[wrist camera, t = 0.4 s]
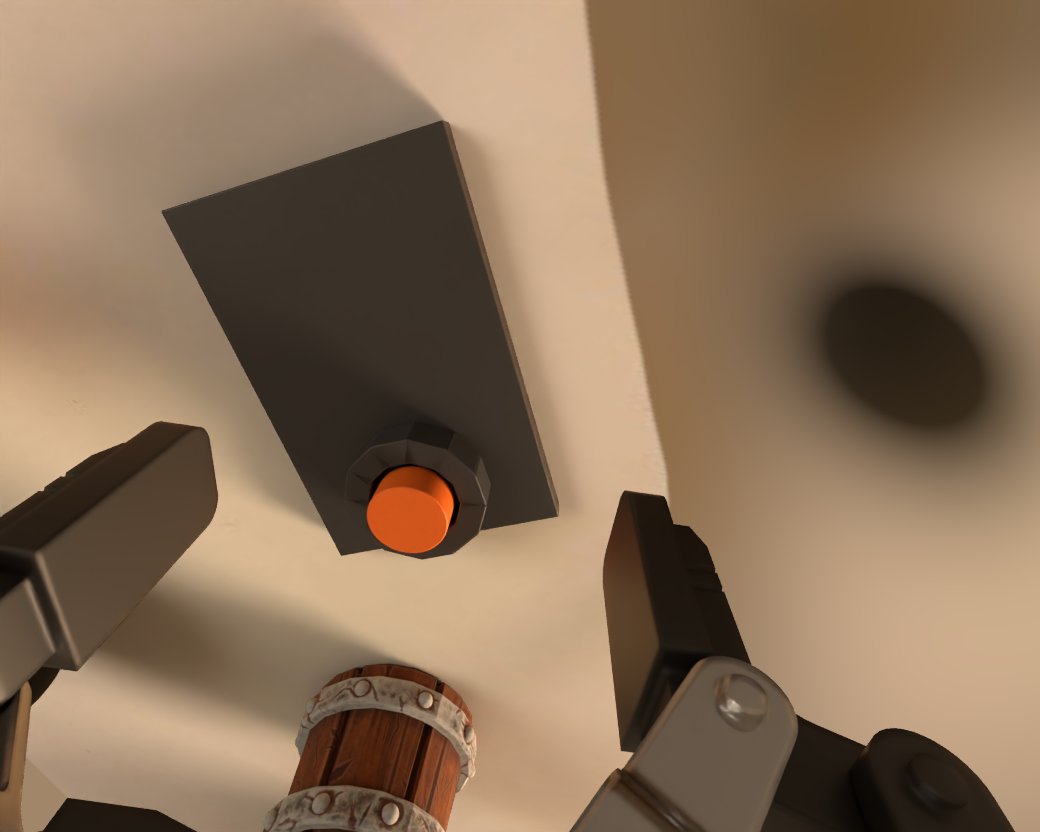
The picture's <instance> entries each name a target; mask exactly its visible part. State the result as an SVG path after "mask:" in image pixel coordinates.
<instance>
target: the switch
mask: <svg viewBox="0 0 1040 832" xmlns="http://www.w3.org/2000/svg"><path fill="white" fill-rule="evenodd" d="M453 508H454V496H453V493H452V491H451V488H450V487H449V485H448V484H447V482H446V481H445V480H444V479H443V478H442V477H441V476H439V475H438V474H437V473H435V472H433V471H431V470H429V469H426V468H423V467H417V466H406V467H401V468H397V469H395V470H393V471H391V472H389V473H388V474H387V475H386V476H385V477H384V478H383V479H382V481H381V482H380V484H379V486H378V488H377V490H376V492H375V494H374V496H373V497H372V499H371V501H370V503H369V505H368V509H367V521H368V525H369V527H370V529H371V531H372V533H373V534H374V535H375V537H376V538H377V539H378V540H379V541H381V542H382V543H383V544H385V545H386V546H388V547H390V548H392V549H394V550H397V551H401V552H406V553H419V552H424V551H427V550H430V549H432V548H434V547H435V546H437V545H438V544H439V543H440V542H441V541H442V540H443V538H444V537H445V535H446V532H447V529H448V526H449V522H450V519H451V515H452V512H453Z"/></svg>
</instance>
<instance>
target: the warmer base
mask: <svg viewBox="0 0 1040 832" xmlns="http://www.w3.org/2000/svg"><path fill="white" fill-rule="evenodd" d="M162 214H163V216H164V218H165V220H166V222H167V224H168V226H169V227H170V229H171V231H172V233H173V235H174V237H175V239H176V241H177V243H178V245H179V247H180V248H181V250H182V252H183V254H184V256H185V258H186V260H187V262H188V264H189V266H190V268H191V269H192V271H193V273H194V275H195V277H196V279H197V281H198V283H199V285H200V287H201V289H202V291H203V292H204V294H205V296H206V298H207V300H208V302H209V304H210V306H211V308H212V310H213V312H214V313H215V315H216V317H217V319H218V321H219V323H220V325H221V327H222V329H223V331H224V333H225V335H226V336H227V338H228V340H229V342H230V344H231V346H232V348H233V350H234V352H235V354H236V356H237V357H238V359H239V361H240V363H241V365H242V367H243V369H244V371H245V373H246V375H247V377H248V379H249V380H250V382H251V384H252V386H253V388H254V390H255V392H256V394H257V396H258V398H259V400H260V401H261V403H262V405H263V407H264V409H265V411H266V413H267V415H268V417H269V419H270V421H271V422H272V424H273V426H274V428H275V430H276V432H277V434H278V436H279V438H280V440H281V442H282V444H283V445H284V447H285V449H286V451H287V453H288V455H289V457H290V459H291V461H292V463H293V465H294V466H295V468H296V470H297V472H298V474H299V476H300V478H301V480H302V482H303V484H304V486H305V488H306V489H307V491H308V493H309V495H310V497H311V499H312V501H313V503H314V505H315V507H316V509H317V510H318V512H319V514H320V516H321V518H322V520H323V522H324V524H325V526H326V528H327V530H328V531H329V533H330V535H331V537H332V539H333V541H334V543H335V545H336V547H337V549H338V551H339V553H340V554H341V556H343V555H348V554H354V553H359V552H365V551H370V550H376V549H381V548H383V549H384V550H385V551H386V550H387V551H389V552H393V553H397V554H401V555H405V556H410V557H414V558H418V559H427V558H433V557H439V556H444V555H450V554H454V553H455V552H456V551H458V550H459V549H460V548H461V547H463V546H464V545H465V544H466V543H468V542H469V541H470V540H471V539H473V538H474V537H475V536H476V535H478V534H479V531H480V530H486V529H492V528H497V527H503V526H508V525H514V524H519V523H525V522H530V521H536V520H541V519H547V518H552V517H558V515H559V502H558V499H557V495H556V492H555V489H554V485H553V482H552V478H551V475H550V471H549V468H548V464H547V461H546V457H545V454H544V450H543V447H542V444H541V440H540V437H539V433H538V430H537V426H536V423H535V419H534V416H533V412H532V409H531V406H530V402H529V399H528V395H527V392H526V388H525V385H524V381H523V378H522V374H521V371H520V367H519V364H518V361H517V357H516V354H515V350H514V347H513V343H512V340H511V336H510V333H509V329H508V326H507V323H506V319H505V316H504V312H503V309H502V305H501V302H500V298H499V295H498V291H497V288H496V284H495V281H494V278H493V274H492V271H491V267H490V264H489V260H488V257H487V253H486V250H485V246H484V243H483V240H482V236H481V233H480V229H479V226H478V222H477V219H476V215H475V212H474V208H473V205H472V201H471V198H470V195H469V191H468V188H467V184H466V181H465V177H464V174H463V170H462V167H461V163H460V160H459V157H458V153H457V150H456V146H455V143H454V139H453V136H452V132H451V129H450V125H449V123H448V122H446V121H438V122H435V123H432V124H429V125H426V126H423V127H420V128H417V129H413V130H410V131H407V132H404V133H401V134H398V135H395V136H392V137H389V138H386V139H382V140H379V141H376V142H373V143H370V144H367V145H364V146H361V147H358V148H355V149H352V150H348V151H345V152H342V153H339V154H336V155H333V156H330V157H327V158H324V159H321V160H317V161H314V162H311V163H308V164H305V165H302V166H299V167H296V168H293V169H290V170H287V171H283V172H280V173H277V174H274V175H271V176H268V177H265V178H262V179H259V180H256V181H253V182H249V183H246V184H243V185H240V186H237V187H234V188H231V189H228V190H225V191H222V192H218V193H215V194H212V195H209V196H206V197H203V198H200V199H197V200H194V201H191V202H188V203H184V204H181V205H178V206H175V207H172V208H169V209H166V210H163V211H162ZM406 466H417V467H423V468H426V469H429V470H431V471H433V472H435V473H437V474H438V475H439V476H441V477H442V478H443V479H444V480H445V481H446V482H447V484H448V485H449V487H450V488H451V491H452V493H453V496H454V508H453V512H452V515H451V519H450V522H449V526H448V529H447V532H446V535H445V537H444V538H443V540H442V541H441V542H440V543H439V544H438V545H437V546H435V547H434V548H432V549H430V550H427V551H424V552H419V553H406V552H401V551H397V550H394V549H392V548H390V547H388V546H386V545H385V544H383V543H382V542H381V541H379V540H378V539H377V538H376V537H375V535H374V534H373V533H372V531H371V529H370V527H369V525H368V521H367V509H368V505H369V503H370V501H371V499H372V497H373V496H374V494H375V492H376V490H377V488H378V486H379V484H380V482H381V481H382V479H383V478H384V477H385V476H386V475H387V474H388V473H389V472H391V471H393V470H395V469H397V468H401V467H406Z"/></svg>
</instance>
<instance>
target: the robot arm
mask: <svg viewBox="0 0 1040 832" xmlns="http://www.w3.org/2000/svg"><path fill="white" fill-rule="evenodd" d="M217 502H218V492H217V485H216V478H215V472H214V465H213V459H212V452H211V445H210V439H209V436H208V433H207V432H206V430H205V429H204V428H202V427H196V426H190V425H183V424H176V423H169V422H162V421H160V422H156V423H154V424H152V425H150V426H149V427H147V428H146V429H145V430H143V431H142V432H140V433H139V434H138V435H136V436H135V437H133V438H132V439H130V440H129V441H128V442H126V443H122V444H119V445H117V446H114V447H112V448H109V449H107V450H104V451H102V452H99V453H97V454H94V455H92V456H90V457H89V458H87V459H86V460H84V461H83V462H81V463H80V464H78V465H77V466H75V467H74V468H72V469H71V470H69V471H68V472H66V476H65V477H62V476H61V477H59V478H58V479H56V480H55V481H53V482H52V483H50V484H49V485H47V486H46V487H45V489H44V491H43V492H42V491H38V492H37V493H35V494H34V495H33V496H31V497H30V498H28V499H27V500H25V501H24V502H22V503H21V504H19V505H18V506H16V507H15V508H13V509H12V510H10V511H9V512H8V513H6V514H5V515H3V516H2V517H0V832H23V828H22V827H23V826H22V819H21V798H22V788H23V787H22V786H23V778H24V767H25V759H26V749H27V739H28V730H29V720H30V710H31V700H32V690H31V688H30V685H29V683H28V680H29V679H30V678H31V677H32V676H33V675H34V674H35V673H36V672H37V671H38V670H39V669H40V668H41V667H50V668H57V669H64V670H71V671H78V670H79V669H80V668H81V667H82V665H83V664H84V663H85V662H86V661H87V660H88V659H89V658H90V657H91V655H92V654H93V653H94V652H95V651H96V650H97V649H98V648H99V647H100V645H101V644H102V643H103V642H104V641H105V640H106V639H107V638H108V637H109V635H110V634H111V633H112V632H113V631H114V630H115V629H116V628H117V627H118V625H119V624H120V623H121V622H122V621H123V620H124V619H125V618H126V617H127V615H128V614H129V613H130V612H131V611H132V610H133V609H134V608H135V607H136V605H137V604H138V603H139V602H140V601H141V600H142V599H143V598H144V597H145V595H146V594H147V593H148V592H149V591H150V590H151V589H152V588H153V587H154V585H155V584H156V583H157V582H158V581H159V580H160V579H161V578H162V577H163V575H164V574H165V573H166V572H167V571H168V570H169V569H170V568H171V567H172V565H173V564H174V563H175V562H176V561H177V560H178V559H179V558H180V557H181V555H182V554H183V553H184V552H185V551H186V550H187V549H188V548H189V547H190V545H191V544H192V543H193V542H194V541H195V540H196V539H197V538H198V537H199V535H200V534H201V533H202V532H203V531H204V530H205V529H206V528H207V526H208V525H209V524H210V522H211V521H212V519H213V516H214V514H215V511H216V508H217ZM603 589H604V598H605V608H606V617H607V626H608V635H609V644H610V654H611V663H612V672H613V681H614V690H615V700H616V709H617V718H618V727H619V737H620V746H621V751H626V752H633V753H634V754H633V755H632V757H631V758H630V760H629V761H628V763H627V764H626V765H625V767H624V768H623V769H622V770H620V769H619V768H617V769H616V770H614V771H613V772H612V773H611V775H610V776H609V777H608V778H607V779H606V781H605V782H604V783H603V785H602V786H601V787H600V789H599V790H598V792H597V793H596V795H595V796H594V797H593V799H592V800H591V802H590V803H589V805H588V806H587V807H586V809H585V810H584V812H583V813H582V815H581V816H580V817H579V819H578V820H577V822H576V823H575V825H574V826H573V827H572V829H571V830H570V832H1015V831H1014V829H1013V828H1012V826H1011V824H1010V823H1009V821H1008V820H1007V818H1006V816H1005V815H1004V813H1003V812H1002V810H1001V808H1000V807H999V805H998V803H997V802H996V800H995V798H994V797H993V796H992V794H991V793H990V791H989V790H988V788H987V787H986V786H985V785H984V783H983V782H982V781H981V780H980V778H979V777H978V776H977V775H976V774H975V773H974V772H973V771H972V770H971V769H970V768H969V767H968V766H967V765H966V764H965V763H963V762H962V761H961V760H960V759H959V758H958V757H957V756H955V755H954V754H953V753H951V752H950V751H949V750H947V749H946V748H944V747H943V746H941V745H939V744H937V743H936V742H935V741H932V740H931V739H929V738H927V737H925V736H922V735H920V734H918V733H915V732H912V731H908V730H904V729H897V728H890V729H885V730H881V731H879V732H878V733H877V734H875V735H874V736H873V738H872V739H871V740H870V742H869V743H868V745H867V746H864V745H862V744H860V743H857V742H855V741H853V740H851V739H848V738H846V737H843V736H841V735H839V734H836V733H834V732H832V731H830V730H827V729H825V728H823V727H820V726H818V725H816V724H813V723H811V722H809V721H807V720H805V719H803V718H802V717H800V716H798V715H797V714H795V711H794V708H793V706H792V704H791V703H790V701H789V699H788V697H787V696H786V695H785V693H784V692H783V691H782V689H781V688H780V687H779V686H778V685H777V684H776V683H775V682H774V681H773V680H772V679H771V678H770V677H768V676H767V675H766V674H765V673H763V672H762V671H760V670H759V669H757V668H756V667H754V666H752V665H751V662H750V660H749V657H748V654H747V652H746V649H745V646H744V644H743V641H742V639H741V636H740V633H739V630H738V628H737V625H736V622H735V620H734V617H733V614H732V612H731V609H730V606H729V604H728V601H727V598H726V596H725V593H724V592H722V585H721V583H720V580H719V578H718V574H717V573H715V566H714V564H713V561H712V558H711V556H710V553H709V550H708V548H707V546H706V545H705V544H704V543H703V542H702V540H701V539H700V538H699V537H698V536H697V535H696V534H695V533H694V532H693V530H692V529H691V528H690V527H689V526H682V525H676V524H673V521H672V518H671V514H670V511H669V508H668V505H667V501H666V499H665V497H664V496H660V495H653V494H646V493H639V492H632V491H624V492H623V494H622V496H621V498H620V502H619V505H618V509H617V513H616V516H615V520H614V524H613V527H612V531H611V535H610V538H609V542H608V546H607V549H606V553H605V559H604V566H603ZM39 832H197V831H195V830H193V829H191V828H189V827H187V826H185V825H183V824H182V823H180V822H178V821H176V820H174V819H172V818H170V817H168V816H167V815H165V814H163V813H161V812H159V811H157V810H151V809H144V808H137V807H129V806H122V805H115V804H108V803H101V802H93V801H86V800H79V799H72V798H67V799H66V800H65V802H64V803H63V805H62V806H61V807H60V809H59V810H58V811H57V813H56V814H55V815H54V817H53V818H52V820H51V821H50V822H49V823H48V825H47V826H46V828H45V829H44V830H43V831H39Z"/></svg>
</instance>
